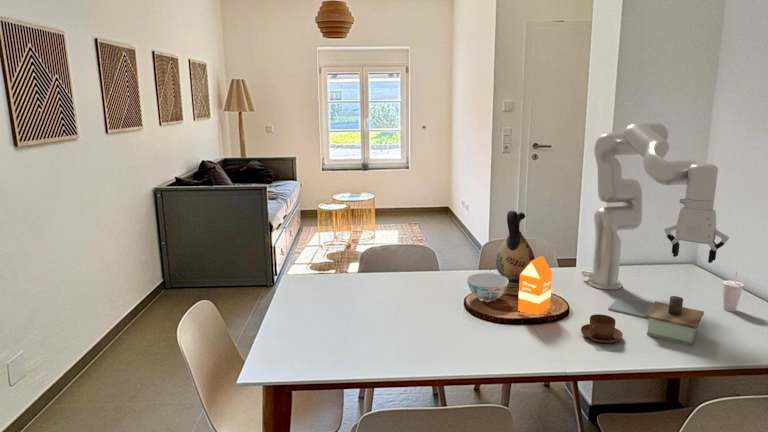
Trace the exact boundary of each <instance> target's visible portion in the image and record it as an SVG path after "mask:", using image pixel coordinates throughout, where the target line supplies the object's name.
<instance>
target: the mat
mask: <svg viewBox="0 0 768 432" xmlns="http://www.w3.org/2000/svg"><path fill="white" fill-rule="evenodd" d="M653 304H654V302H653V301H647V300H644V299H638V298H634V297H629V296H624V295H618V297H617V298H616V299H615V300H614V301H613V302H612V304H611V305H609V307H608V309H607V310H608V311H613V312H617V313H621V314H625V315H629V316H634V317H638V318H643V319H647V320H649V318H645V315H646V313H647V312H648V310H649V309H650V308H651V306H652V305H653Z"/></svg>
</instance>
